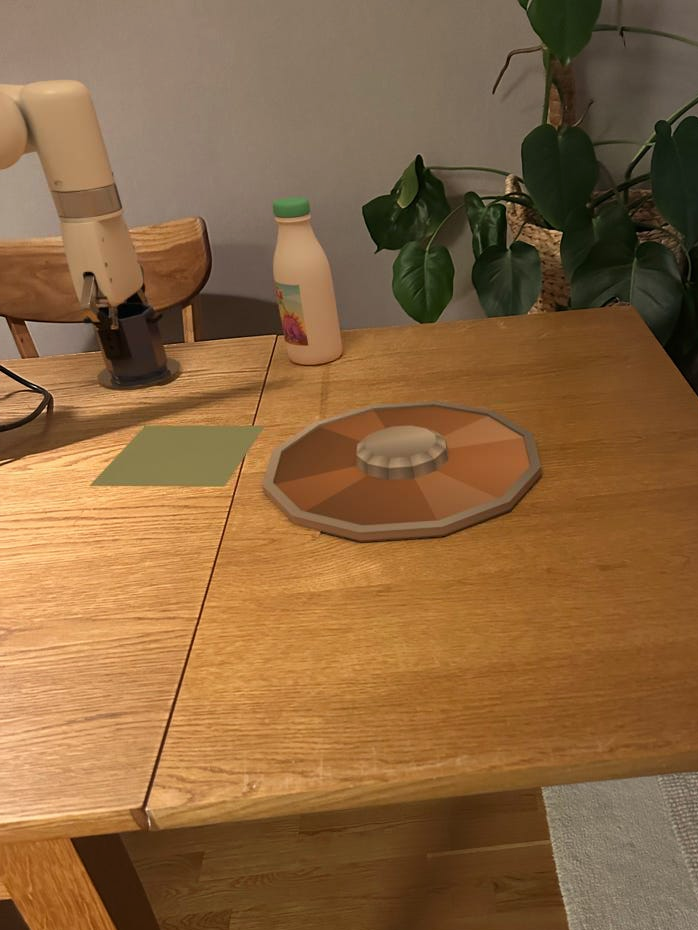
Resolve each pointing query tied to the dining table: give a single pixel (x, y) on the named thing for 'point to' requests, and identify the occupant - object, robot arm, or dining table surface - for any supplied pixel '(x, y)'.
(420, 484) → the shield
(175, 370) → the disc
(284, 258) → the milk bottle
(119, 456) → the cloth
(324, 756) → the dining table surface
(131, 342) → the pot
